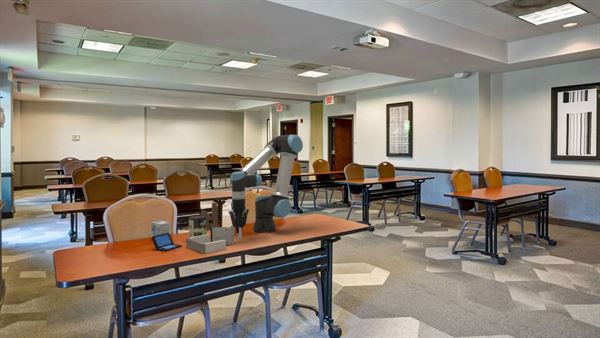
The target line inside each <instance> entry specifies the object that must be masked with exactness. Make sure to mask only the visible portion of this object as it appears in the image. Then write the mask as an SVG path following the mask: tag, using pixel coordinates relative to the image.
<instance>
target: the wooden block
mask: <svg viewBox="0 0 600 338" xmlns="http://www.w3.org/2000/svg"><path fill="white" fill-rule="evenodd" d="M201 215H202V216H206V231H211V228H217V227H220V226H219V223H218V221H219V220H218V202H216V201H214V202H213V201H212V202H211V215H210V214H209V212H207V211H206V210H205V209H201ZM210 220H211V223H210Z"/></svg>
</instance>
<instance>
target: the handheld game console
mask: <svg viewBox="0 0 600 338" xmlns="http://www.w3.org/2000/svg"><path fill="white" fill-rule="evenodd" d="M151 240H152V242H153V245H154V248H155V251H156V252H157V251H159V252H169V251H173V250H176V249H179V248H182V244H176V243H174V242H173V239H172V236H171V233H170V234H169V233H165V234H161V235H157V236H153V237H152V236H151Z"/></svg>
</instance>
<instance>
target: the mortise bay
mask: <svg viewBox="0 0 600 338" xmlns="http://www.w3.org/2000/svg"><path fill="white" fill-rule="evenodd" d="M185 239H186V240H185V241H186V244H185V245H186V248H188V249H190V250H193V251H195V252H198V253H199V254H201V255H205V254H210V253H214V252H219V251H225V250H227V245H226V240H220V241H215V242H211V234H209V233H207V235H201V236H195V237H189V236H188V237H186V238H185Z"/></svg>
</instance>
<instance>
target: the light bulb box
mask: <svg viewBox="0 0 600 338" xmlns="http://www.w3.org/2000/svg"><path fill="white" fill-rule="evenodd" d="M170 226H171V225H170V222H169V221H165V220H157V221H151V238H152V237H153V236H157V235H161V234H165V233H169V234H170V235H171V229H170Z"/></svg>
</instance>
